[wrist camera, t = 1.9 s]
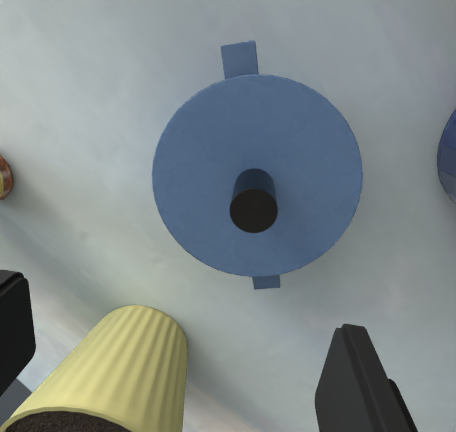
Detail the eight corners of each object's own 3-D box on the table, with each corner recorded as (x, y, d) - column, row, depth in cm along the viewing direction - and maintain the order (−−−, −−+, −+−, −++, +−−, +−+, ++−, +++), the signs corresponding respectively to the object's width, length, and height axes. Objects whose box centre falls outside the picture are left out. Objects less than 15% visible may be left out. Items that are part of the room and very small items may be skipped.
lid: (177, 276, 30) (159, 322, 25) (135, 92, 25) (97, 96, 19) (358, 261, 28) (383, 307, 23) (357, 57, 23) (391, 49, 17)
